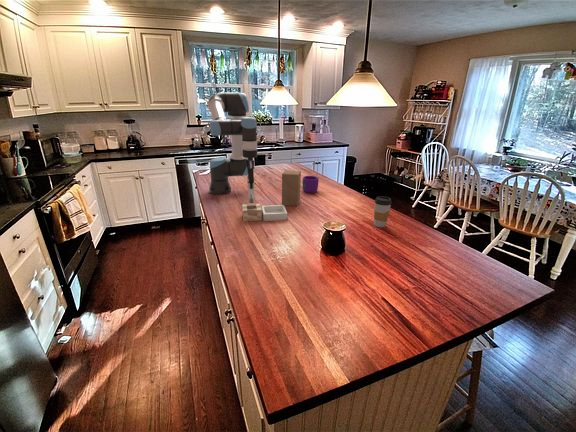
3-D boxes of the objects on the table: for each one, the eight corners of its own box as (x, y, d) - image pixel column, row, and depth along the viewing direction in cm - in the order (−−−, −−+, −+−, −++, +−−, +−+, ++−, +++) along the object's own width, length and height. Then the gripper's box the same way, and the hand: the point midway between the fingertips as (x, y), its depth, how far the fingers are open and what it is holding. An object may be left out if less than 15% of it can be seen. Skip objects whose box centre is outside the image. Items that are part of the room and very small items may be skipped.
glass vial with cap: (248, 201, 160) (247, 176, 155) (254, 200, 161) (253, 176, 156) (248, 203, 157) (247, 178, 152) (254, 202, 158) (254, 177, 152)
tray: (261, 212, 169) (261, 205, 168) (283, 211, 172) (283, 204, 170) (263, 221, 158) (263, 214, 156) (287, 219, 160) (287, 213, 158)
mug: (320, 192, 206) (321, 179, 202) (305, 194, 203) (305, 180, 199) (311, 186, 221) (312, 173, 217) (297, 187, 218) (297, 174, 214)
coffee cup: (376, 220, 161) (380, 194, 155) (390, 225, 155) (395, 198, 150) (368, 224, 155) (372, 198, 150) (382, 229, 150) (387, 202, 144)
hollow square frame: (242, 214, 166) (242, 204, 164) (260, 213, 168) (259, 203, 166) (243, 221, 157) (242, 210, 155) (261, 220, 159) (261, 209, 156)
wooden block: (297, 206, 180) (298, 174, 172) (281, 205, 181) (281, 173, 174) (299, 201, 189) (301, 170, 181) (284, 199, 190) (285, 169, 183)
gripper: (241, 146, 155) (243, 188, 164) (242, 152, 140) (244, 198, 149) (255, 146, 156) (257, 188, 165) (258, 151, 141) (259, 197, 150)
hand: (251, 193), depth 157 cm, fingers closed on glass vial with cap, 3 cm apart
